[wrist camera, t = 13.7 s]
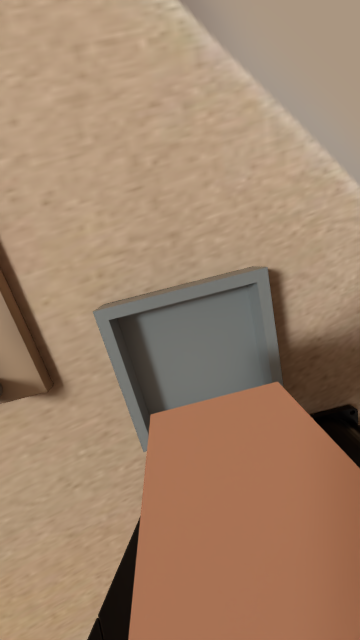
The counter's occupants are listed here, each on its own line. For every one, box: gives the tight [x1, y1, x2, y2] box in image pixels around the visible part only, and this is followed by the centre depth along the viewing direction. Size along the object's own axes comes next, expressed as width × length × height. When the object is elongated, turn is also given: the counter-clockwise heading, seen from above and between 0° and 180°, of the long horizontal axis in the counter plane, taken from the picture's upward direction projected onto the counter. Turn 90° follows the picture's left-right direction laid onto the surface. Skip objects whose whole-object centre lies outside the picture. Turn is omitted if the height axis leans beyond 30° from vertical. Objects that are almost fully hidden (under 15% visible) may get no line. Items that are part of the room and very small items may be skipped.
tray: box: [93, 266, 284, 452], centre depth 17 cm, size 12×12×2 cm
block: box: [128, 382, 360, 640], centre depth 6 cm, size 5×5×6 cm
